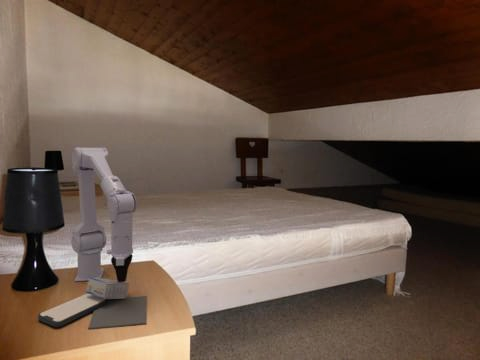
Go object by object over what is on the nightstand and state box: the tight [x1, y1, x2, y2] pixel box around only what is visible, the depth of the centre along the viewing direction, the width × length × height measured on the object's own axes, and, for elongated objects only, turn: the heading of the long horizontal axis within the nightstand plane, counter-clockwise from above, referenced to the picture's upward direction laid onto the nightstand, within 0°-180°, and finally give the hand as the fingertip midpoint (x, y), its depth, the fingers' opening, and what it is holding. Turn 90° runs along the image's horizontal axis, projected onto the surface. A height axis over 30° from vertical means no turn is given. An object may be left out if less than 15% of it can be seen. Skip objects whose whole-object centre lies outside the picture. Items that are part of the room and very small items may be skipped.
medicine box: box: [85, 277, 130, 299], centre depth 104 cm, size 8×4×9 cm
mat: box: [87, 295, 148, 330], centre depth 98 cm, size 16×14×1 cm
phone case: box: [37, 293, 107, 328], centre depth 97 cm, size 9×2×16 cm
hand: (121, 280), depth 103 cm, fingers closed
